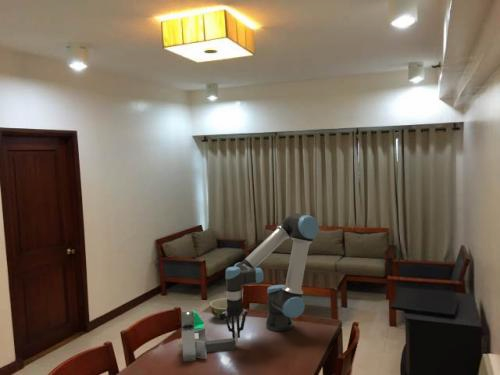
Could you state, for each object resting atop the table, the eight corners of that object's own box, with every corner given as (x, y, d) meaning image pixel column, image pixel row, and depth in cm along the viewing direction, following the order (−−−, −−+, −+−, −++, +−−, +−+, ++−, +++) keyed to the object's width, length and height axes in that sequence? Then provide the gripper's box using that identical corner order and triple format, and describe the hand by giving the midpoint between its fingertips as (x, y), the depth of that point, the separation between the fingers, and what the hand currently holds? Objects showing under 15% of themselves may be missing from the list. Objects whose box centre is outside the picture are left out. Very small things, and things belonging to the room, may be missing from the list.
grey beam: (234, 344, 217) (233, 329, 216) (236, 350, 210) (235, 334, 209) (179, 350, 213) (178, 335, 212) (179, 356, 206) (178, 340, 205)
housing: (205, 342, 221) (203, 304, 219) (207, 359, 202) (204, 317, 201) (184, 345, 219) (181, 306, 218) (183, 361, 200) (180, 319, 199)
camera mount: (182, 334, 234) (181, 316, 233) (183, 329, 241) (182, 311, 241) (204, 332, 235) (203, 314, 235) (204, 327, 243) (203, 309, 242)
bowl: (207, 323, 248) (206, 307, 248) (214, 312, 266) (213, 297, 265) (236, 323, 245) (235, 307, 245) (242, 312, 263) (241, 297, 262)
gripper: (246, 294, 216) (248, 339, 218) (220, 297, 215) (223, 342, 216) (248, 299, 209) (250, 345, 210) (221, 301, 207) (224, 348, 208)
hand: (236, 344), depth 213 cm, fingers closed
